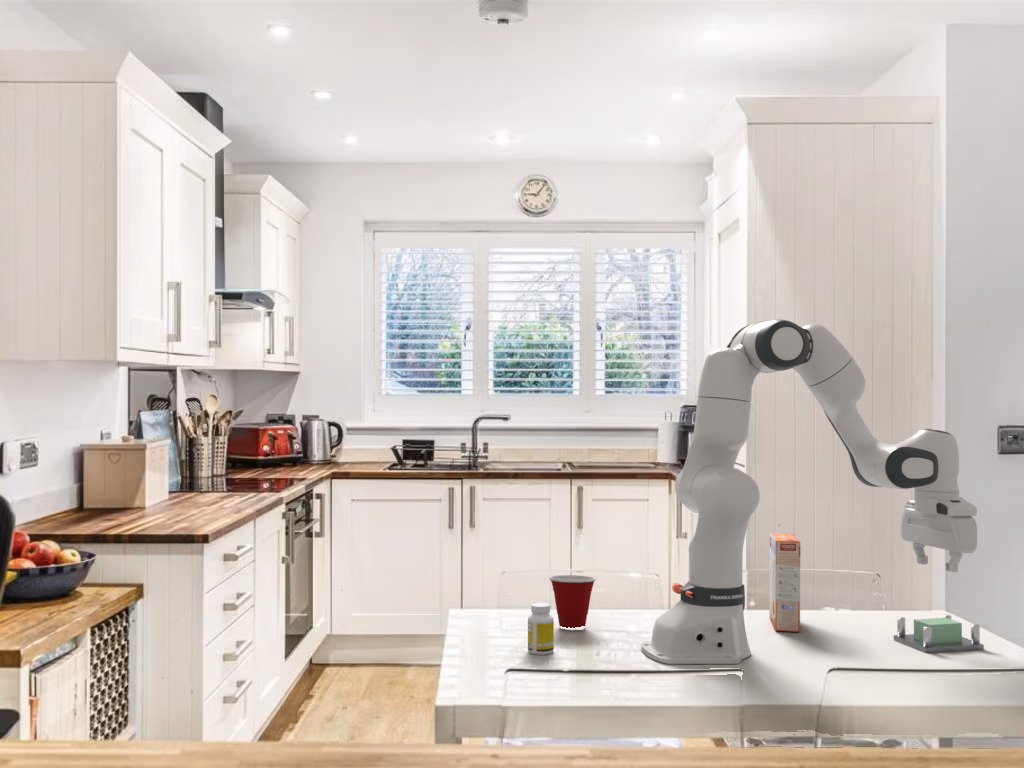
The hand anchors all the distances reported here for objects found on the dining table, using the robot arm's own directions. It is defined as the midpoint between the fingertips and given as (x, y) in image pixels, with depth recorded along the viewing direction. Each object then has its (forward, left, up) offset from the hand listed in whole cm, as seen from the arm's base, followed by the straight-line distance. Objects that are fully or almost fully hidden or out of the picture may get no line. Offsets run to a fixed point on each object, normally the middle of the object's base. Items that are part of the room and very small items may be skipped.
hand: (936, 567), depth 190 cm
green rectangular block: (0, 0, -16) cm, 16 cm away
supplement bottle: (-86, +11, -17) cm, 88 cm away
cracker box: (-24, +22, -17) cm, 37 cm away
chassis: (0, 0, -17) cm, 17 cm away
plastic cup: (-74, +29, -17) cm, 81 cm away
